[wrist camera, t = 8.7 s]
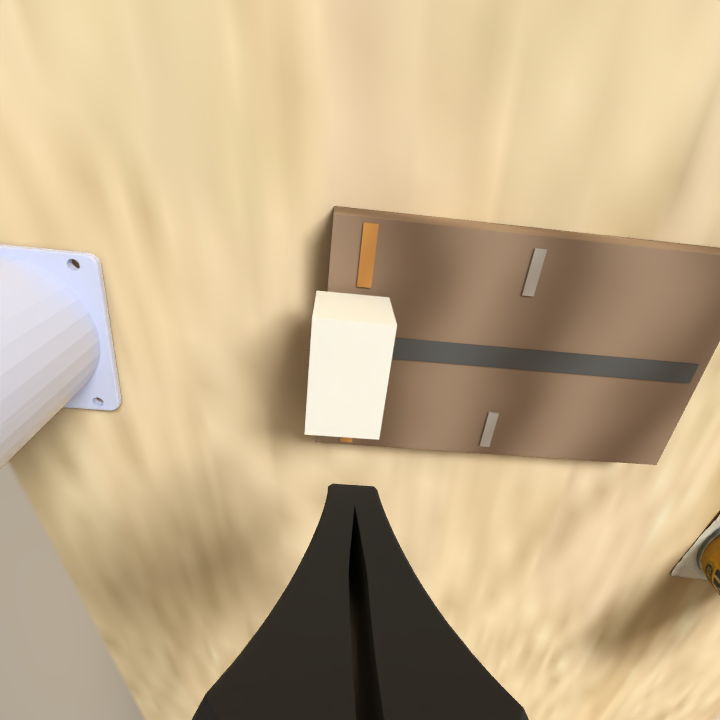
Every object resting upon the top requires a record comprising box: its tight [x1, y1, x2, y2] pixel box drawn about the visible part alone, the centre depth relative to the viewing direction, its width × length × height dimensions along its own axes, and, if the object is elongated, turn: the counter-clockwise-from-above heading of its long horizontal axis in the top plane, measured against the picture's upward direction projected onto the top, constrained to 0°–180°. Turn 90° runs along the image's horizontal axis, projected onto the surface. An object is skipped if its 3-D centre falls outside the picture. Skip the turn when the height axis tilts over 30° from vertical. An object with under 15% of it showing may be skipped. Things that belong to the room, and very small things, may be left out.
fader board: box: [315, 206, 720, 465], centre depth 22 cm, size 18×11×2 cm, turn 84°
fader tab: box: [305, 291, 397, 440], centre depth 18 cm, size 3×5×3 cm, turn 174°
